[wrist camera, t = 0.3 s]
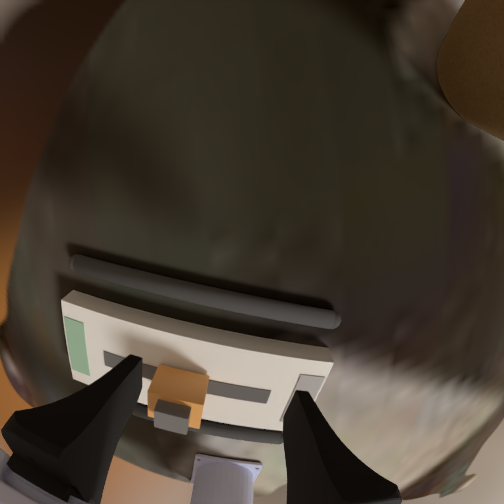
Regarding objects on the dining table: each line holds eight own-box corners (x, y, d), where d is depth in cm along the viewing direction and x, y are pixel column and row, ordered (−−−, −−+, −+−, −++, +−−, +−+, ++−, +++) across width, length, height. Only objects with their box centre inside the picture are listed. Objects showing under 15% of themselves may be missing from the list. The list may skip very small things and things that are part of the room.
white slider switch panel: (296, 417, 25) (298, 432, 23) (81, 366, 24) (72, 379, 22) (328, 347, 23) (334, 363, 21) (73, 289, 22) (60, 300, 20)
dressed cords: (282, 437, 27) (283, 447, 25) (88, 391, 26) (83, 399, 24) (340, 308, 22) (345, 317, 20) (74, 250, 21) (65, 255, 19)
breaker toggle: (205, 400, 22) (196, 441, 18) (158, 389, 22) (143, 427, 18) (209, 375, 21) (201, 417, 17) (159, 363, 21) (142, 402, 17)
